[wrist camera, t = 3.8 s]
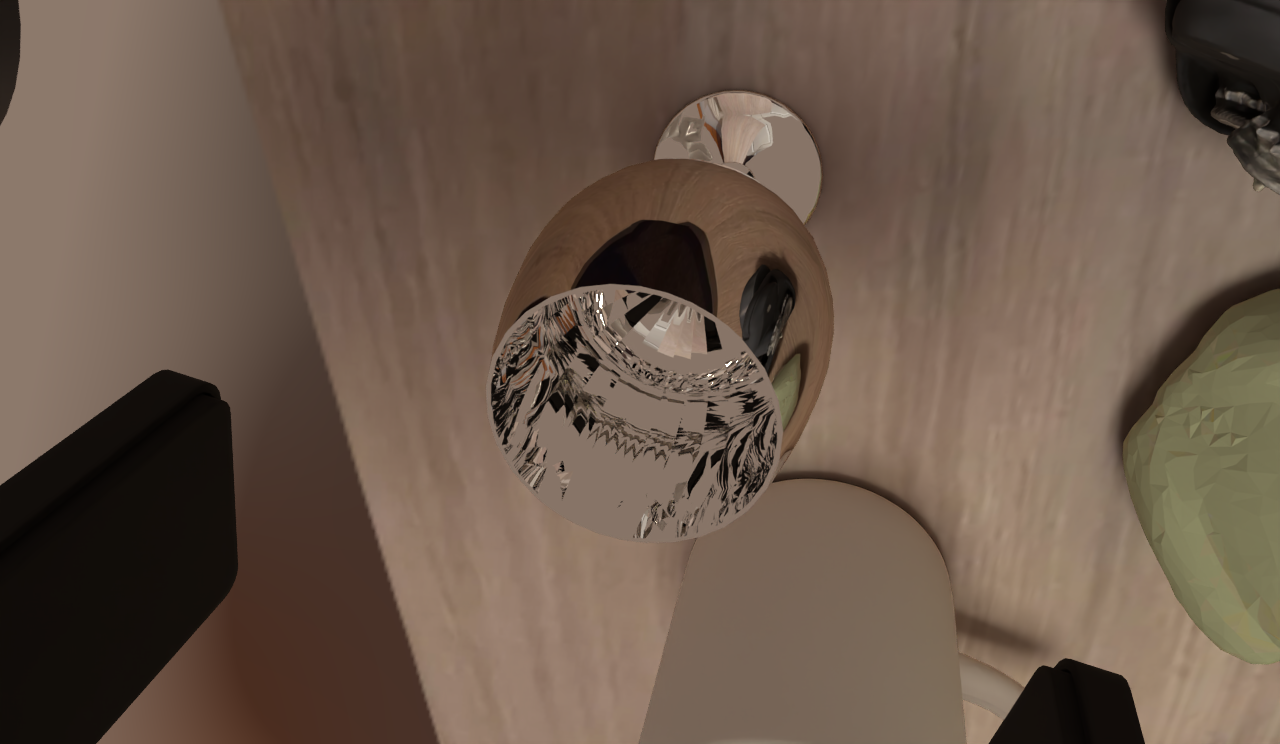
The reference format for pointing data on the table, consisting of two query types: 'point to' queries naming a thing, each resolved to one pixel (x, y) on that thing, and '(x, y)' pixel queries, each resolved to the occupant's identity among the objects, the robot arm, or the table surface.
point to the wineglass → (670, 329)
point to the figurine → (1218, 480)
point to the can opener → (1232, 75)
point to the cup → (818, 631)
